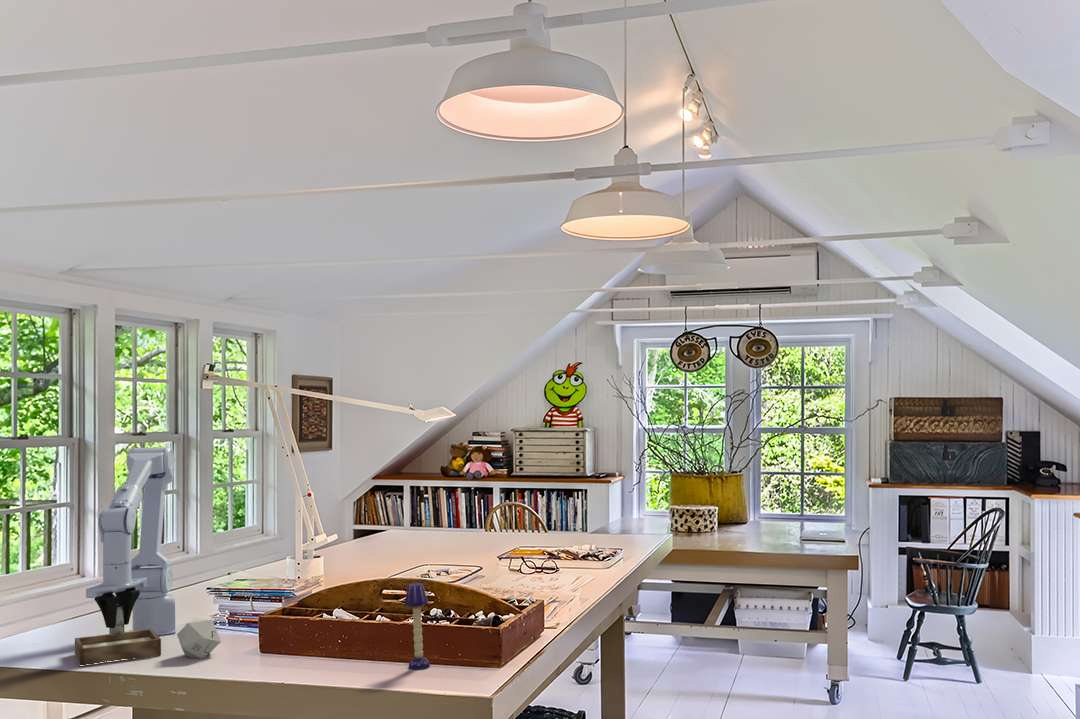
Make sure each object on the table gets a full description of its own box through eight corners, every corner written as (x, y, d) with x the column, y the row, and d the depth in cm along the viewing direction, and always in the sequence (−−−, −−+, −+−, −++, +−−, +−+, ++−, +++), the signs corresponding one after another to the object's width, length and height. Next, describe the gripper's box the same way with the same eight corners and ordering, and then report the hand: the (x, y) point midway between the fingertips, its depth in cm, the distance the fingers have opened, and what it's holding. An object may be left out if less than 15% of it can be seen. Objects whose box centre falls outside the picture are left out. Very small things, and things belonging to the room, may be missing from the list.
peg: (116, 632, 222) (116, 604, 223) (127, 632, 221) (127, 605, 222) (106, 635, 220) (106, 607, 220) (117, 635, 219) (116, 607, 219)
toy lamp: (419, 671, 202) (417, 586, 203) (400, 668, 204) (399, 584, 205) (434, 665, 206) (432, 582, 207) (416, 662, 209) (414, 581, 209)
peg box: (152, 644, 230) (152, 628, 230) (161, 655, 219) (160, 639, 219) (74, 654, 222) (74, 638, 222) (80, 666, 211) (79, 649, 211)
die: (179, 666, 212) (207, 629, 213) (162, 640, 217) (189, 604, 218) (208, 671, 219) (235, 635, 219) (191, 646, 224) (217, 611, 224)
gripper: (131, 557, 229) (131, 617, 229) (75, 566, 217) (76, 631, 216) (153, 558, 226) (154, 620, 226) (98, 568, 213) (98, 634, 213)
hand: (117, 625), depth 221 cm, fingers closed on peg, 3 cm apart
